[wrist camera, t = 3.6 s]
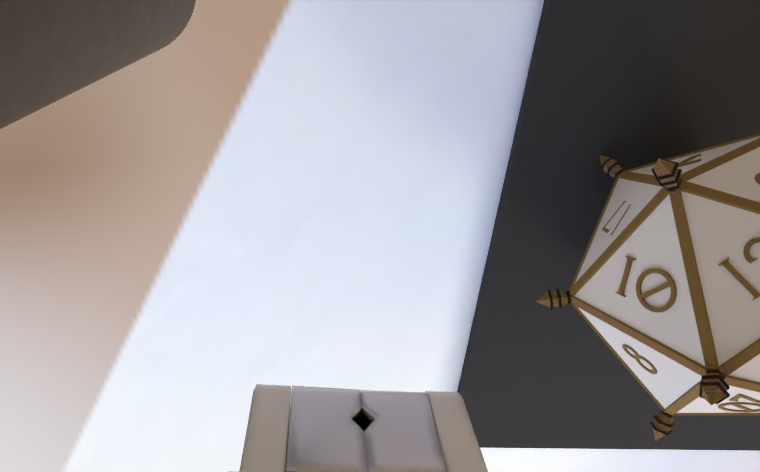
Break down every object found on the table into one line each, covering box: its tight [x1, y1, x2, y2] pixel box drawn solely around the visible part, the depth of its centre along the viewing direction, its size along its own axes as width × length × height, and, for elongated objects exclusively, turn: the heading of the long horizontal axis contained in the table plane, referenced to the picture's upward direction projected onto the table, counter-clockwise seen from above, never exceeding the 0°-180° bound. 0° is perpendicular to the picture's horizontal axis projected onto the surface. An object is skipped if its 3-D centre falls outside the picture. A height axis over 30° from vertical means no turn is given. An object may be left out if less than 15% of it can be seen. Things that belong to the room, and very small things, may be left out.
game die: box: [535, 133, 760, 441], centre depth 15 cm, size 9×8×10 cm
